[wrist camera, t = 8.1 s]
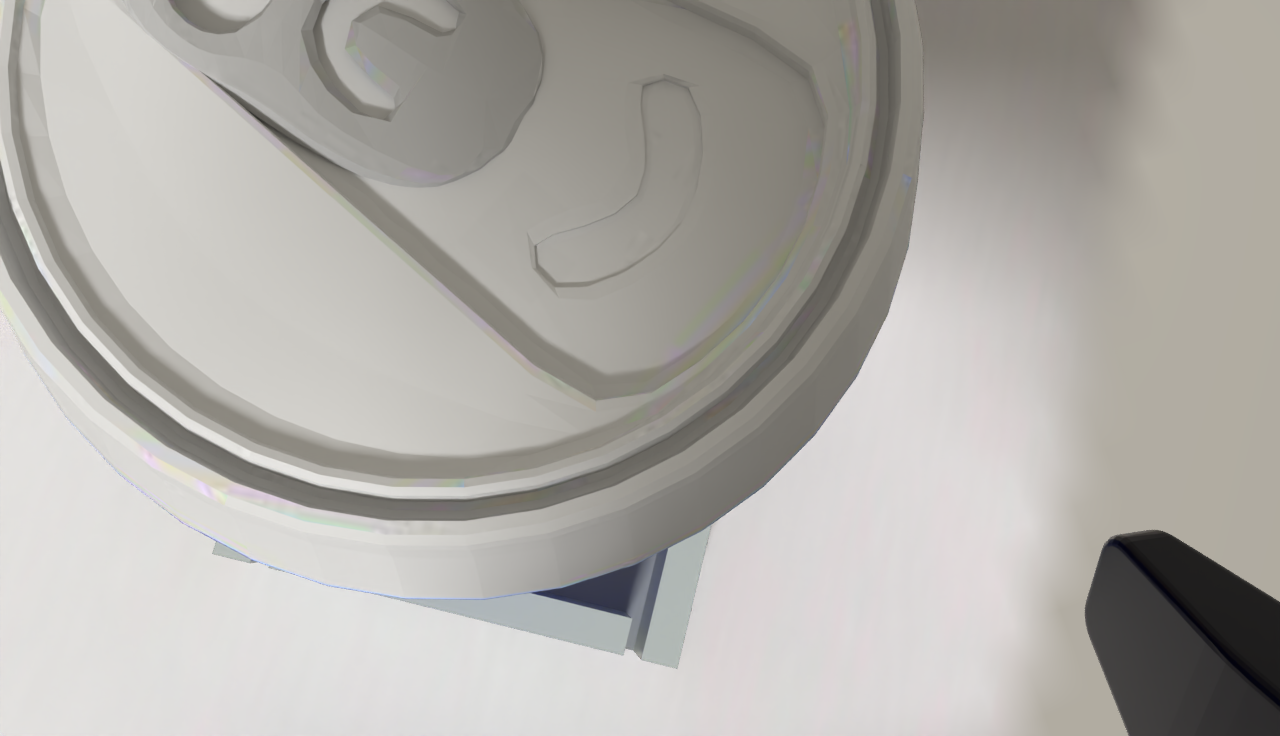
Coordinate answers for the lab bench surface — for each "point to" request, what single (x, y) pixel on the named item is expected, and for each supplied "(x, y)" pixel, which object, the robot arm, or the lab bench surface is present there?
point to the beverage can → (453, 263)
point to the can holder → (598, 605)
